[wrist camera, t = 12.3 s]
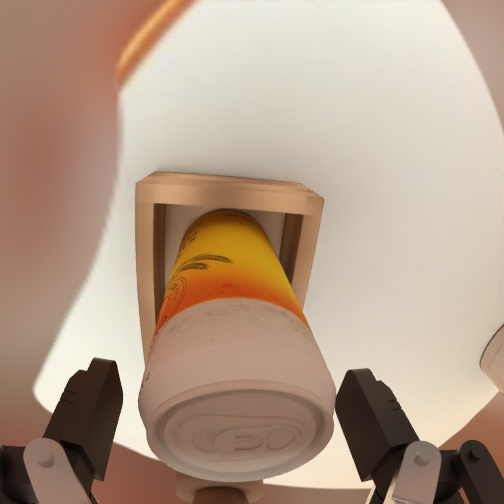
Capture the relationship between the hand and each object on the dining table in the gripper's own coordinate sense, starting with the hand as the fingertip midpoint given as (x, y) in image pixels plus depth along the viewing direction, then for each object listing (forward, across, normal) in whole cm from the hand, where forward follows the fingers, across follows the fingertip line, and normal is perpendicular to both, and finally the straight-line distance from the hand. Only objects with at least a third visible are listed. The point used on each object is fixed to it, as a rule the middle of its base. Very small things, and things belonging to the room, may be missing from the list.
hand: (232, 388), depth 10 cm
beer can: (+13, 0, 0) cm, 13 cm away
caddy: (+13, 0, +4) cm, 14 cm away
